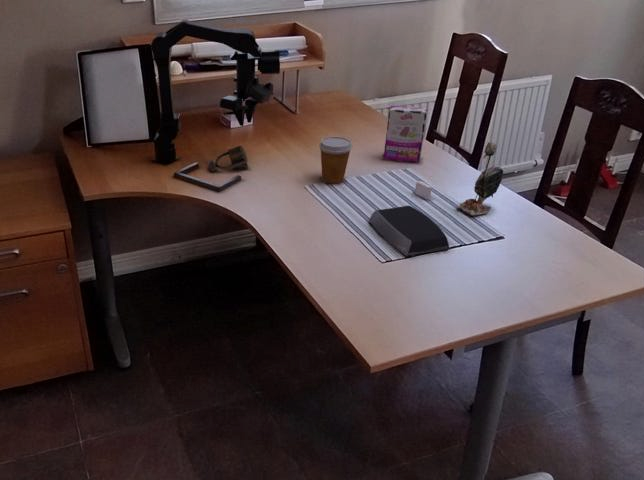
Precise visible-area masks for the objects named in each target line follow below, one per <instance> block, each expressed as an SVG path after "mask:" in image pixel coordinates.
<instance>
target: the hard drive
mask: <svg viewBox="0 0 644 480" xmlns="http://www.w3.org/2000/svg"><path fill="white" fill-rule="evenodd" d="M368 221H369V223H370V224H371V225H372V226H373V228H374V229H375V230H376V231H377V232H378V233H379V234H380V235H381V236H382V237H383V238H384V239H385V241H387V242H388V243H389V244H391V246H392V247H394V248H395V249H396V250H398V251H399V252H400V253H401V254H403V255H404V256H406V257H407V256H408V257H409V256H413V255H419V254H427V253H432V252H439V251H444V250H449V249H450V244H449V239H448V237H447V235H446V234H445V232H444V231H443V230H442V228H440V226H438V224H436V223H435V222H434V221H433V220H432V218H429V217H428V216H427V215H426V214H424V213H423V212H421V211H420V210H419V209H417V208H415V207H413V206H411V205H404V206H397V207H391V208H382V209H375V210H374V211H373V212H372V214H371V216H370V217H369V219H368Z"/></svg>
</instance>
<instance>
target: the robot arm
mask: <svg viewBox="0 0 644 480" xmlns="http://www.w3.org/2000/svg"><path fill="white" fill-rule="evenodd" d="M185 37H189V38H195V39H199V40H203V41H207V42H208V41H209V42H211V43H212V42H213V43H217V44H221V45H224V46H227V47H228V48H231V49H233V50H234V52H233V53H232V54H231V55H230V57H229V59H230V61H235V62H236V65H235V67H236V69H235V71H236V73H235V74H236V76H235V77H233V82H234V83H236V85H235V86H236V87H235V88H236V89H235V90H233V95H227V96H224V97H222V98H220V100H219V108H221V109H226V110H230V111H232V113H233V114H234V116H235V119H236V121H237V123H238V124H239V126H241V127H244V123H245V118H246V122H247V123H252V120H253V118H254V114H255V111H256V108H257V106H258V105H259V104H260V105H261V104H264V103H265V102H269V100H270V98H271V96H272V95H274V84H273V83H271V82H270V81H269V82H266V83H265V84H264V83H260V82H259V81H260V79H259V76H256V61H257V72H259V73H260V75H280V73H281V60H280V58H281V57H280V52H281V51H280V49H273V50H262V48H261V46H260V45H259V44H258V42H257V41H256V35H255V33H254V31H253V30H251V29H249V28H223V27H217V26H212V25H209V24H204V23H201V22H195V21H190V20H189V19H183V20H181V21H180V22H179V23H177V24H176V25H173V27H171V28H169V29H168V30H166V31H165V32H164V31H163V32H158V33H157V34H156V35H155V36H154V38H153V39H152V41H151V44H150V50H151V53H152V57H153V60H154V63H155V65H156V68H157V78H158V88H159V99H160V107H161V108H160V109H161V115H160V123H159V129H158V130H157V131H156V133H155V136H154V139H153V144H154V158H152V159H151V162H155V163H158V164H162V165H165V166H166V165H169V164H171V163H173V162H176V161H179V159H180V158H179V157H178V156H177V153H176V145H175V142H174V140H175V139H177V137H178V135H179V132H180V131H181V130H180V129H181V127H182V122H181V113H180V112H178V113H177V112H176V110H175V106H174V105H175V104H174V93H173V83H172V72H171V71H172V70H171V61H172V52H173V47H174V46H175V45H176V44H178V43H179V42H180V41H181V40H183V39H184V38H185Z"/></svg>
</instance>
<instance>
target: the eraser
mask: <svg viewBox="0 0 644 480" xmlns="http://www.w3.org/2000/svg"><path fill="white" fill-rule="evenodd" d="M432 190H433V186H431V185H429V184H427V183H425V182H423V181H421V180H418V181H416V183H415V189H414V194H415V195H417V196H419V197H421V198H422V199H424V200H426V201H428V200H430V199H431V195H432Z"/></svg>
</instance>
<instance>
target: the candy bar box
mask: <svg viewBox="0 0 644 480" xmlns="http://www.w3.org/2000/svg"><path fill="white" fill-rule="evenodd" d="M428 109H429V108H428V107H421V106H420V107H419V106H405V105H390V108H389V110H388V116H387V125H386V134H385V142H384V150H383V160H384V161H394V162H395V161H396V162H403V163H404V162H406V163H413V164H414V163H415V164H418V163H420V160H421V156H422V150H423V143H424V137H425V132H426V131H425V130H426V123H427V117H428Z"/></svg>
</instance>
